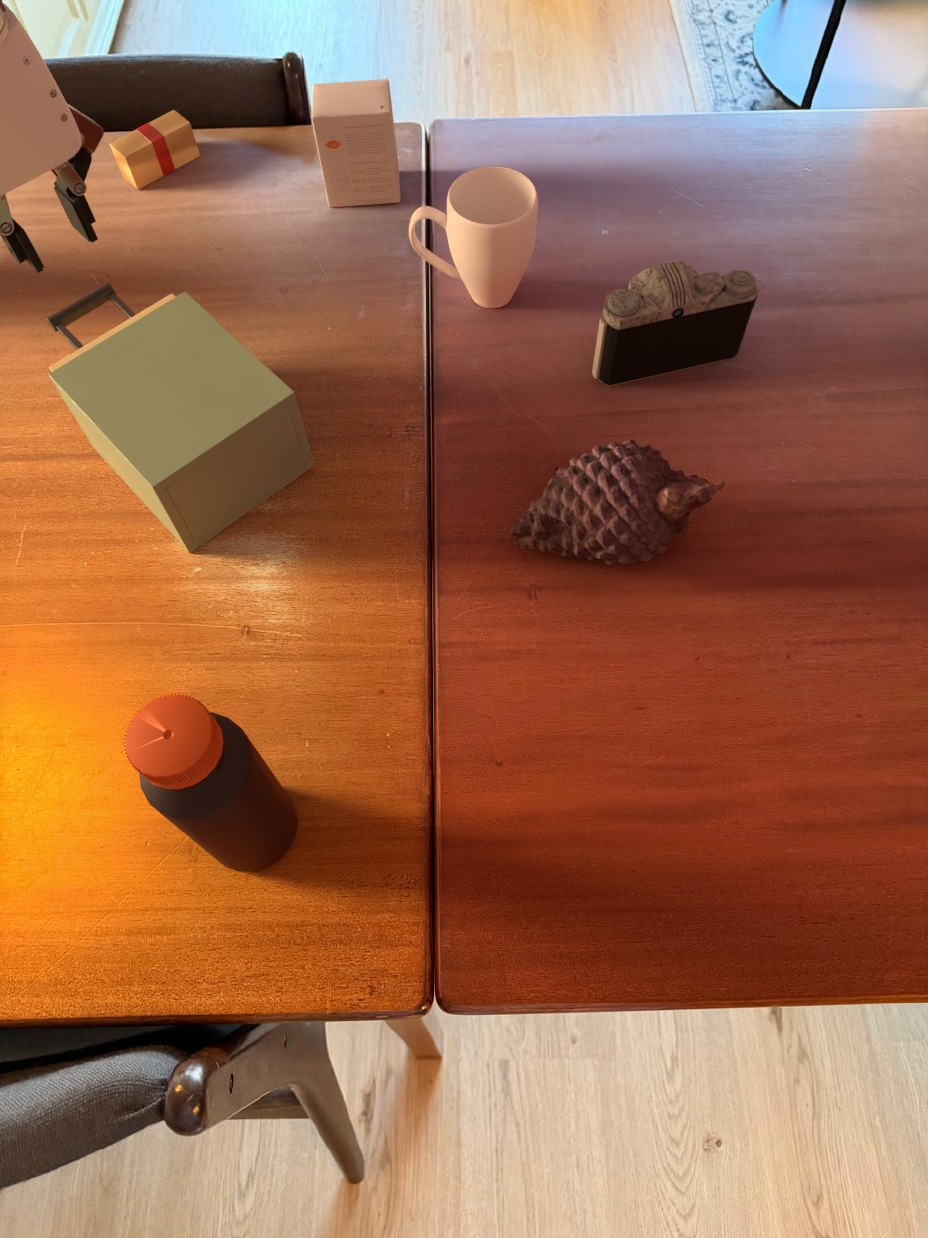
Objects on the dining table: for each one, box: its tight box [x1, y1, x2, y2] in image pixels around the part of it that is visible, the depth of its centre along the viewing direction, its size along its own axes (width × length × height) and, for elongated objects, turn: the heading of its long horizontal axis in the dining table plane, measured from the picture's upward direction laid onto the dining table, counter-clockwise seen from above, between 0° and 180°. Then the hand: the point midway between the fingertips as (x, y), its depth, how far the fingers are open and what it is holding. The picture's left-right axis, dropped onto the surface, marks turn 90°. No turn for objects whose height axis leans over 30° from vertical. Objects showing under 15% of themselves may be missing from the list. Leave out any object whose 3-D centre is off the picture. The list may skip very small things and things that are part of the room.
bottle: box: [123, 693, 299, 873], centre depth 58 cm, size 7×7×20 cm
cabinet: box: [47, 291, 316, 554], centre depth 79 cm, size 16×14×10 cm
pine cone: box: [510, 439, 726, 566], centre depth 74 cm, size 18×10×10 cm
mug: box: [408, 165, 539, 309], centre depth 87 cm, size 12×8×11 cm
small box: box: [311, 78, 401, 208], centre depth 95 cm, size 8×6×10 cm
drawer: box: [45, 282, 177, 373], centre depth 81 cm, size 22×13×8 cm, turn 42°
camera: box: [591, 260, 759, 387], centre depth 83 cm, size 15×7×10 cm, turn 105°
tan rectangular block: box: [109, 109, 201, 191], centre depth 100 cm, size 3×8×4 cm, turn 133°
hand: (58, 245), depth 74 cm, fingers open, 4 cm apart
